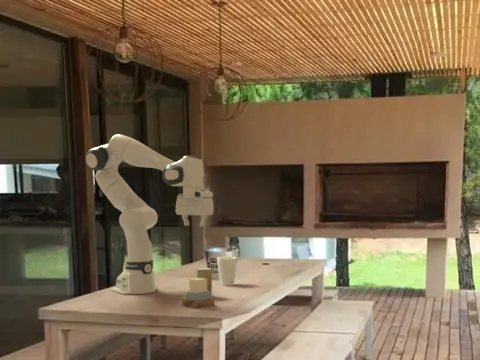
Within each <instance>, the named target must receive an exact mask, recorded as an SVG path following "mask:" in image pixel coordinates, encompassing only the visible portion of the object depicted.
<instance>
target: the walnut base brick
mask: <svg viewBox="0 0 480 360" xmlns="http://www.w3.org/2000/svg"><path fill="white" fill-rule="evenodd" d="M182 306H183V307H186V308H187V307H188V308H193V309H203V308H207V307H210V306H215V298H213V297H211V299H207V300H202V301H193V300H187V299H186V298H184V299H182Z"/></svg>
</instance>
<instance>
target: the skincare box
mask: <svg viewBox="0 0 480 360" xmlns="http://www.w3.org/2000/svg"><path fill="white" fill-rule="evenodd" d="M212 270H213V269H212V268H211V267H200V268H199V267H198V268H196V269H195V271H196V272H195V273H196V275H195V278H204V279H207V291H211V298H213V297H212V296H213V295H212V294H213V293H212V290H213V289H212V288H213V287H212V286H213V285H212V284H213V283H212V282H213V281H212V280H213V278H212V275H213V274H212V273H213V272H212Z"/></svg>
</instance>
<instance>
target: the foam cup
mask: <svg viewBox="0 0 480 360" xmlns="http://www.w3.org/2000/svg"><path fill="white" fill-rule="evenodd" d="M237 262H238V261H237V257H236V256H218V257H217V259H216V263H217V268H218V275H219V281H220V286H222V287H230V286H234V285H235V276H236V269H237V268H236V267H237Z"/></svg>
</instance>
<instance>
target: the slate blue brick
mask: <svg viewBox="0 0 480 360" xmlns="http://www.w3.org/2000/svg"><path fill="white" fill-rule="evenodd" d="M185 293H186V297H185V299H187V300H193V301H202V300H207V299H211V298H212V297H211V291H206V292H201V293H194V292H190V290H189V291H188V290H187V291H186V292H185Z"/></svg>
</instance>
